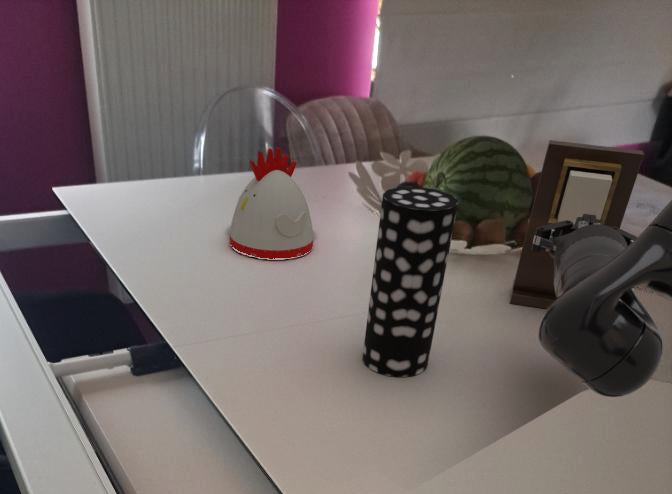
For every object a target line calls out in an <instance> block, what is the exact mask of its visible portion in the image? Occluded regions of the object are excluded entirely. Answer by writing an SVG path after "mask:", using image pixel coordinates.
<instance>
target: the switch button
mask: <svg viewBox="0 0 672 494" xmlns="http://www.w3.org/2000/svg"><path fill="white" fill-rule="evenodd" d="M611 184H612V176H611V175H604V174H595V173H587V172H579V171H570V174H569V178H568V181H567V185H566V189H565V192H564V196H563V200H562V203H561V207H560V211H559V214H558V222H561V221H566V220H570V221H571V222H573V224H575V222H576V219H577V217H582V216H583V214H589V215H596V219H598V220H600V219H601V216H602V213H603V209H604V206H605V203H606V200H607V197H608V193H609V190H610V187H611Z"/></svg>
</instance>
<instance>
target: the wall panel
mask: <svg viewBox="0 0 672 494" xmlns="http://www.w3.org/2000/svg"><path fill="white" fill-rule="evenodd" d="M644 157H645V153H644V151H643V150H639V149H632V148H631V149H630V148H621V147H613V146H605V145H595V144H589V143H588V144H587V143H577V142H570V141H560V140H553V139H549V140H548V144H547V148H546V151H545V156H544V158H543V159H544V160H543V164H542V168H541V171H540V174H539V175H540V176H539V179H538V184H537V188H536V191H535V196H534V199H533V204H532V207H531V211H530V215H529V219H528V223H527V228H526V231H525V236H524V239H523V243H522V246H521V252H520V255H519V259H518V263H517V267H516V270H515V271H516V272H515V275H514V279H513V281H512V284H511V288H510V289H511V290H510V298H509V303H510V304H511V305H518V306H523V307H531V308H537V309H543V310H546V309H547V308H548V307H549V306H550V304H551V303H552V302H553V301H554V300H555V299H557V297H556V294H555V289H554V284H553V274H554V259H553V258H552V257H551V256H550V253H549V251H546V250H544V251H541V252H535V251H532V250H531V247H532V244H533V239H534V235H535V232H536V228H537V227H540V226H544V225H548V224H553V223H557V222H558V214H559V211H560V207H561V203H562V200H563V196H564V192H565V189H566V185H567V181H568V178H569V174H570V171H579V172H587V173H595V174H604V175H611V176H612V184H611V187H610V190H609V193H608V197H607V200H606V203H605V206H604V209H603V213H602V216H601V219H600V221H601V224H603V225H606V226H609V227H618V228H620V229H621V227H622V224H623V220H624V217H625V214H626V211H627V209H628V204H629V202H630V198H631V196H632V192H633V190H634V187H635V184H636V181H637V178H638V174H639V171H640V168H641V165H642V163H643V160H644ZM573 225H575V224H573Z"/></svg>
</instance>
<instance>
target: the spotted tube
mask: <svg viewBox="0 0 672 494" xmlns="http://www.w3.org/2000/svg"><path fill="white" fill-rule="evenodd" d="M458 207H459V200H458V199H457V197H455V195H453V194H450V193H449V192H446V191H444V190H443V191H442V190H439V189H435V188H431V187H430V188H429V187H423V186H399V187H397V186H396V187H392V188H388V189H386V190H385V191H383V193H382V199H381V207H380V215H379V222H378V229H377V230H378V231H377V238H376V247H375V254H374V262H373V271H372V278H371V287H370V294H369V301H368V302H369V303H368V310H367V319H366V327H365V334H364V341H363V342H364V343H363V350H362V362H363V364H364V365H365V366H366V367H367V368H368V369H369V370H371V371H373V372H376V373H378V374H381V375H383V376H388V377H395V378H408V377H414V376H417V375H420V374H422V373H424V372H425V371H426V370H427V369H428V365H429V359H430V354H431V351H432V350H431V349H432V346H433V345H432V344H433V339H434V333H435V328H436V322H437V318H438V312H439V307H440V302H441V296H442V291H443V286H444V281H445V276H446V275H445V274H446V270H447V264H448V259H449V254H450V250H451V245H452V238H453V233H454V229H455V228H454V227H455V223H456V217H457V211H458Z"/></svg>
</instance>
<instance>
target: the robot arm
mask: <svg viewBox="0 0 672 494" xmlns="http://www.w3.org/2000/svg"><path fill="white" fill-rule="evenodd" d="M531 250H532V251H535V252H541V251H544V250H546V251H549V253H550V256H551V257H552V258H553V259H554V274H553V284H554V289H555V294H556V297H557V299H555V300H554V301H553V302H552V303H551V304H550V306H549V307H548V308H547V309H545V311H544V313H543V314H542V316H541V319H540V322H539V325H538V330H537V337H538V342H539V344H540V346H541V348H543V350H544V351H545V352H546V353H547V354H548V355H549V356H550V357H551V358H553V359H554V360H555V361H557V362H558V363H559V364H560V365H561V366H563V368H565V369H566V370H567V371H568V372H569V373H571V374H572V375H573V376H574V377H575V378H576V379H577V380H578V381H580V382H581V383H582V384H583V385H584V386H586V388H587V389H589V390H590V391H592V392H593V393H595V394H597V395H599V396H601V397H607V398H619V397H620V398H621V397H625V396H628V395H630V394H632V393H633V394H634V393H635V392H637V391H639V390H640V389H641V388H643V387H644V386H645V385H646V384H647V383H648V382H649V381H651V379H652V378H653V376H654V375H655V373H656V372H657V370H658V368H659V365H660V363H661V360H662V357H663V351H664V343H663V337H662V334H661V332H660V330H659V327H658V325H657V324H656V322H655V321H654V319H653V318H652V316H651V314H650V313H649V312H648V310H647V309H646V308H645V306H644V305H643V304H642V302H641V301H640V299H639V298H638V295H636V292H635V291H636V290H635V288H637V287H642V288H643V289H646V290H649V291H650V292H652V294H653V293H654V294H655V295H657V296H659V297H661V298H662V299H665V300H667V301H669V302H672V199H671V200H670V201H669V202H668V203H667V204H666V205H665V207H664V208H663V209H662V210H661V211H660V212H659V213H658V214H657V215H656V216H655V218H654V219H652V221H651V222H650V223H649V224H648V226H647V227H646V228H645V229H643V231H642V232H641V233H640V234H639V235H638V236H636V235H635V234H631V233H630V232H628V231H626V230H624V229H621V227H620V228H618V227H609V226H606V225H603V224H601V221H600V220H598V219H596V215H589V214H583V216H582V217H577V219H576V222H575V225H573V222H571V221H570V220H566V221H561V222H557V223H553V224H548V225H544V226H540V227H537V228H536V232H535V235H534V239H533V244H532V247H531Z"/></svg>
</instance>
